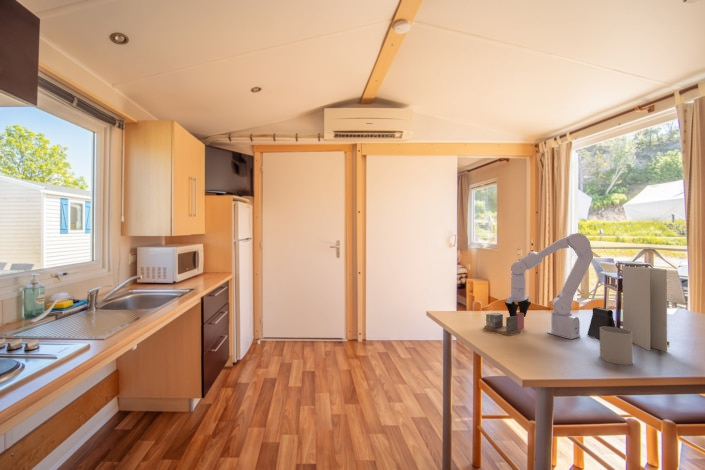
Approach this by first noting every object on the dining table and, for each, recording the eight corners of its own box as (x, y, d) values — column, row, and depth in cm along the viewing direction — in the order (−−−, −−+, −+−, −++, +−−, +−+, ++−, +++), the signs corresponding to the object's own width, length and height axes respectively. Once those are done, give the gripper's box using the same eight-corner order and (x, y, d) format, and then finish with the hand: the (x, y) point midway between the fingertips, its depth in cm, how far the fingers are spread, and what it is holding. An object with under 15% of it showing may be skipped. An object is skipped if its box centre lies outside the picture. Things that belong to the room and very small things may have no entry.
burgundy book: (524, 328, 137) (524, 313, 137) (517, 329, 134) (517, 314, 134) (518, 326, 139) (518, 311, 139) (512, 328, 136) (512, 313, 136)
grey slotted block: (520, 333, 129) (520, 316, 129) (509, 335, 125) (509, 318, 126) (495, 325, 140) (495, 310, 140) (484, 328, 136) (484, 312, 136)
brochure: (667, 351, 109) (666, 269, 109) (649, 350, 110) (649, 269, 110) (638, 339, 122) (638, 266, 123) (622, 338, 124) (622, 266, 124)
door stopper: (601, 340, 121) (601, 310, 121) (587, 335, 127) (587, 307, 127) (618, 338, 123) (618, 309, 123) (603, 333, 129) (603, 306, 129)
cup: (599, 352, 107) (599, 325, 107) (630, 358, 102) (630, 329, 102) (600, 360, 101) (599, 330, 101) (633, 366, 96) (633, 335, 96)
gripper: (519, 285, 144) (518, 313, 144) (500, 287, 137) (499, 317, 136) (533, 287, 138) (533, 317, 137) (514, 290, 130) (514, 321, 130)
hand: (517, 317), depth 137 cm, fingers open, 7 cm apart
